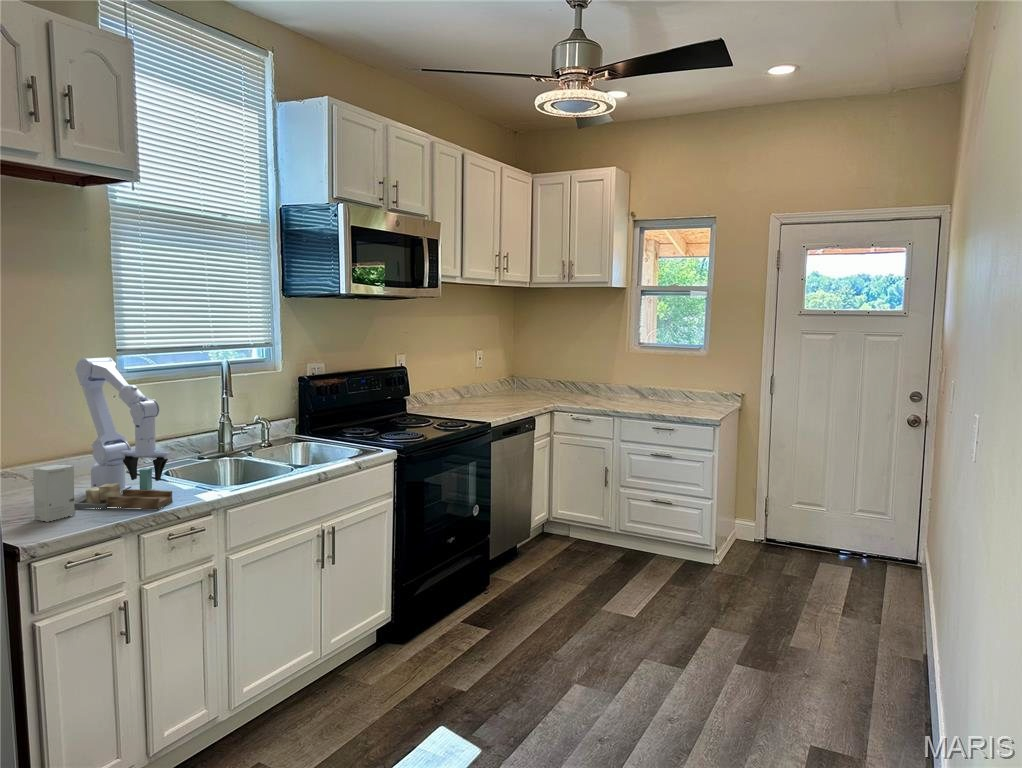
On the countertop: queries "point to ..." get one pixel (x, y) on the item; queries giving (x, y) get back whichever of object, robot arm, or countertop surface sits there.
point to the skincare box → (53, 492)
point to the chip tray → (91, 504)
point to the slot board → (141, 499)
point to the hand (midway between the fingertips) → (146, 479)
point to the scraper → (146, 479)
